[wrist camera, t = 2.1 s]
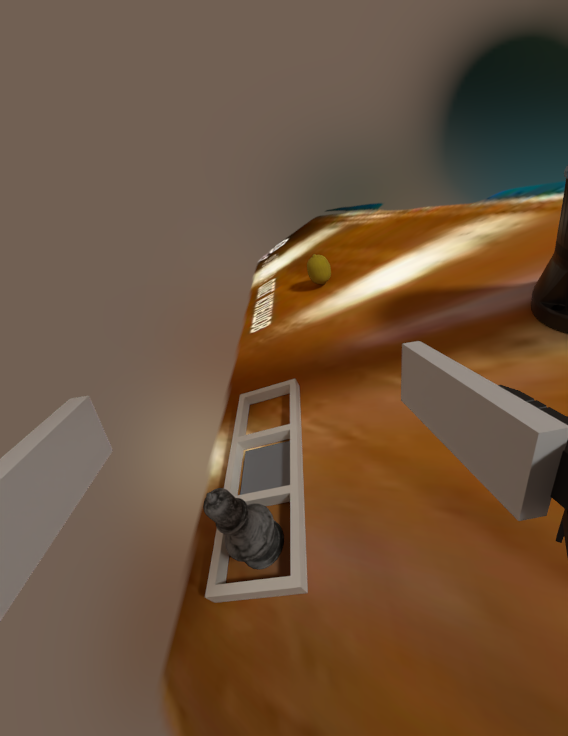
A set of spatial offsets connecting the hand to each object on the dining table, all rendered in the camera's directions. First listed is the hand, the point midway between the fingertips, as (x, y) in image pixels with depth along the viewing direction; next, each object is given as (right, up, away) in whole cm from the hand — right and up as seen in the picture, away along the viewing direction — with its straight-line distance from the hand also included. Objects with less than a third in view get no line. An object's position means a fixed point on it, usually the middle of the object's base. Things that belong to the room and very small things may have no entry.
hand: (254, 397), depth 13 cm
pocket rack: (-1, -13, +29) cm, 32 cm away
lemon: (+11, +22, +64) cm, 68 cm away
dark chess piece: (-1, -19, +22) cm, 29 cm away
